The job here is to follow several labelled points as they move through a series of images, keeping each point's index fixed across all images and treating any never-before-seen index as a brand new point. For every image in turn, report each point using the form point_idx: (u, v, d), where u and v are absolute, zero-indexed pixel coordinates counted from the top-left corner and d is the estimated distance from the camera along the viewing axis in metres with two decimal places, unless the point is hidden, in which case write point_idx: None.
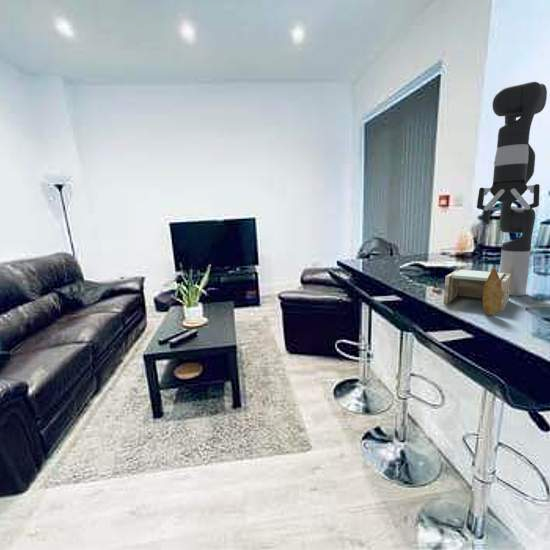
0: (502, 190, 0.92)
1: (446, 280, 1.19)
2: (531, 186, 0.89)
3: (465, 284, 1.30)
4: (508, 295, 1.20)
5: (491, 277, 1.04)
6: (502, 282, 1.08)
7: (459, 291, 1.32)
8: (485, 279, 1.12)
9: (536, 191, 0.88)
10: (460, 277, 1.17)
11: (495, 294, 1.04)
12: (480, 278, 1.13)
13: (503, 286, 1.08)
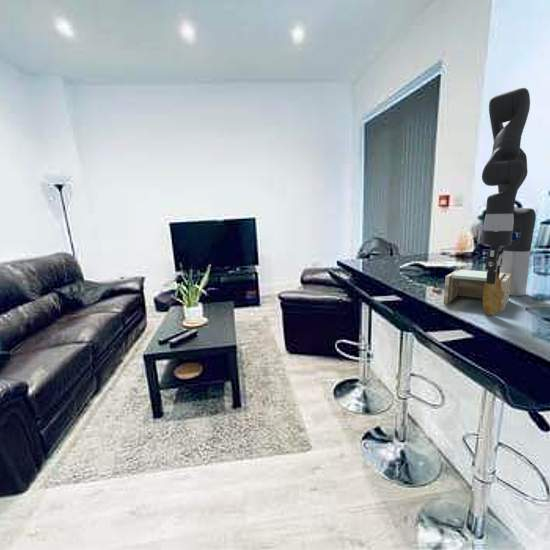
0: (502, 252, 1.00)
1: (446, 280, 1.19)
2: None
3: (465, 284, 1.30)
4: (508, 295, 1.20)
5: None
6: (502, 282, 1.08)
7: (459, 291, 1.32)
8: (485, 279, 1.12)
9: None
10: (460, 277, 1.17)
11: (495, 294, 1.04)
12: (480, 278, 1.13)
13: (503, 286, 1.08)
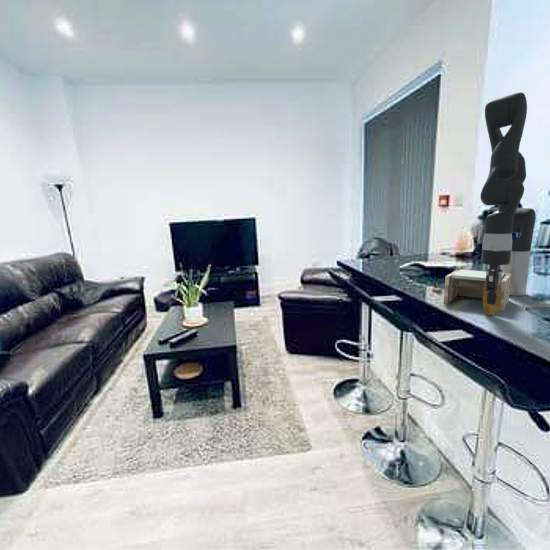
0: (501, 272, 1.01)
1: (446, 280, 1.19)
2: None
3: (465, 284, 1.30)
4: (508, 295, 1.20)
5: None
6: (502, 282, 1.08)
7: (459, 291, 1.32)
8: (485, 279, 1.12)
9: None
10: (460, 277, 1.17)
11: None
12: (480, 278, 1.13)
13: (503, 286, 1.08)
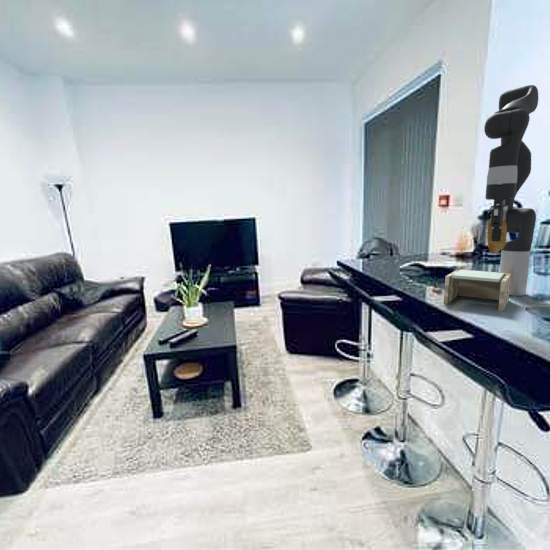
0: (506, 206, 0.99)
1: (446, 280, 1.19)
2: None
3: (465, 284, 1.30)
4: (508, 295, 1.20)
5: None
6: (502, 282, 1.08)
7: (459, 291, 1.32)
8: (485, 279, 1.12)
9: None
10: (460, 277, 1.17)
11: None
12: (480, 278, 1.13)
13: (503, 286, 1.08)
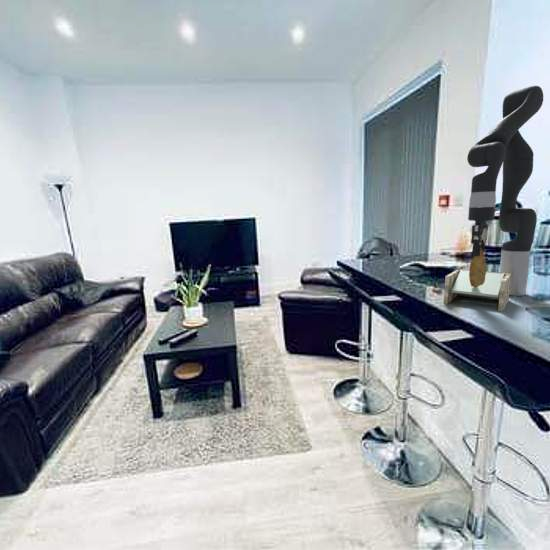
0: (486, 227, 1.11)
1: (446, 280, 1.19)
2: None
3: None
4: (508, 295, 1.20)
5: None
6: (502, 282, 1.08)
7: None
8: (484, 294, 1.14)
9: None
10: (460, 292, 1.19)
11: (480, 270, 1.14)
12: (479, 293, 1.15)
13: (503, 286, 1.08)
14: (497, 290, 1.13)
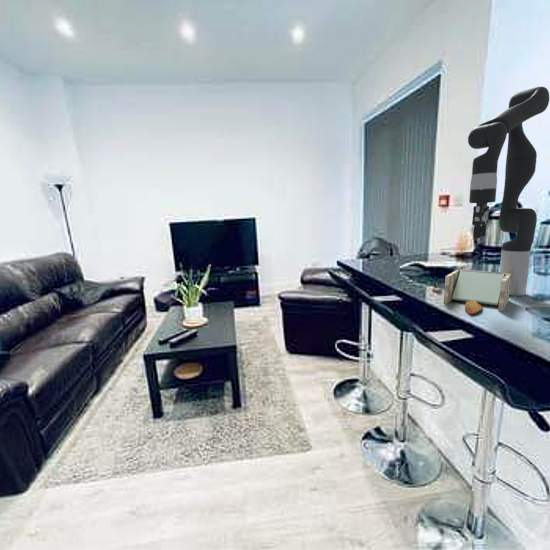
0: (487, 209, 1.10)
1: (446, 280, 1.19)
2: None
3: None
4: (508, 295, 1.20)
5: None
6: (502, 282, 1.08)
7: None
8: (484, 302, 1.16)
9: None
10: (460, 299, 1.21)
11: None
12: (479, 301, 1.17)
13: (503, 286, 1.08)
14: (497, 297, 1.15)
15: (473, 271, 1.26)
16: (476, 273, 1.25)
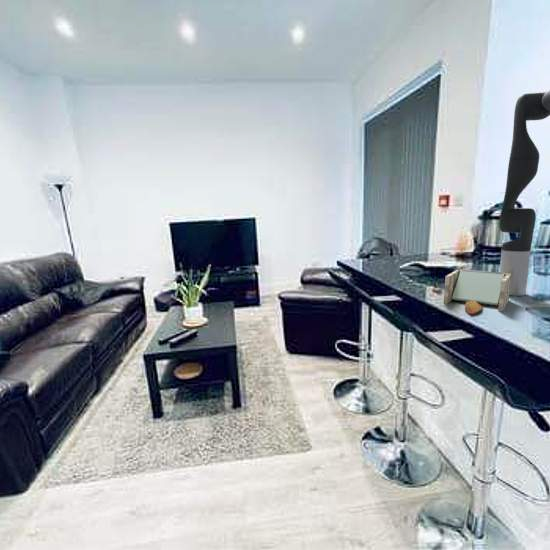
0: None
1: (446, 280, 1.19)
2: None
3: None
4: (508, 295, 1.20)
5: None
6: (502, 282, 1.08)
7: None
8: (484, 302, 1.16)
9: None
10: (460, 299, 1.21)
11: None
12: (479, 301, 1.17)
13: (503, 286, 1.08)
14: (497, 297, 1.15)
15: (473, 271, 1.26)
16: (476, 273, 1.25)
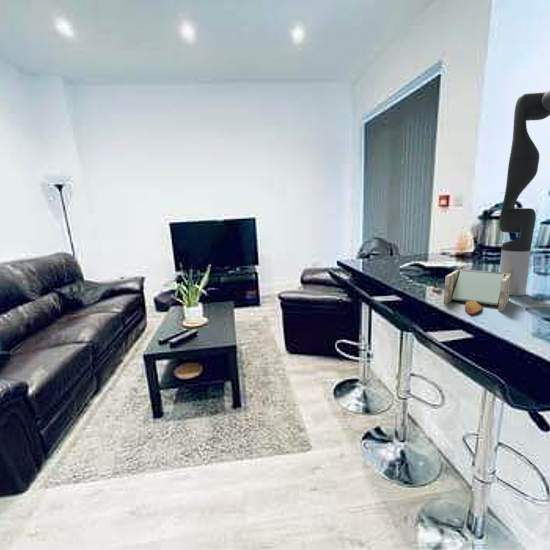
0: None
1: (446, 280, 1.19)
2: None
3: None
4: (508, 295, 1.20)
5: None
6: (502, 282, 1.08)
7: None
8: (484, 302, 1.16)
9: None
10: (460, 299, 1.21)
11: None
12: (479, 301, 1.17)
13: (503, 286, 1.08)
14: (497, 297, 1.15)
15: (473, 271, 1.26)
16: (476, 273, 1.25)
